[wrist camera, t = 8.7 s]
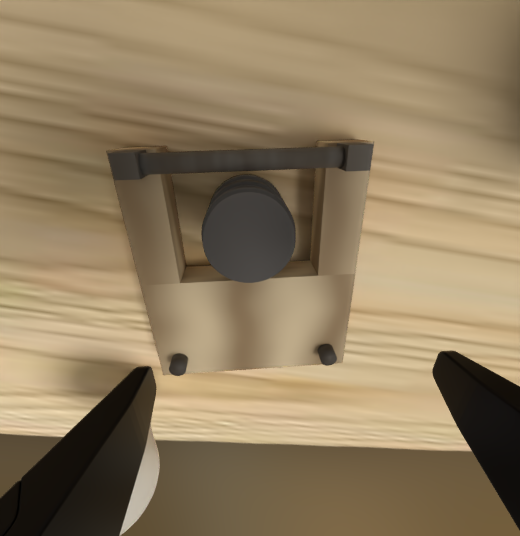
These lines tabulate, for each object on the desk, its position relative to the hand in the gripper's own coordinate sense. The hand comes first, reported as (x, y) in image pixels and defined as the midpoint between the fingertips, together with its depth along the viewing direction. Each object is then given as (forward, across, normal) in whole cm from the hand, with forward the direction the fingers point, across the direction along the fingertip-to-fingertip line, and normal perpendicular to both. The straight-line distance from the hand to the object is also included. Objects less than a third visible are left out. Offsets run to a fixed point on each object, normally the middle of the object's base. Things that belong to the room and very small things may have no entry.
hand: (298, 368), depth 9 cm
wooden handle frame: (+12, +1, +2) cm, 12 cm away
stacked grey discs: (+12, +1, -2) cm, 12 cm away
